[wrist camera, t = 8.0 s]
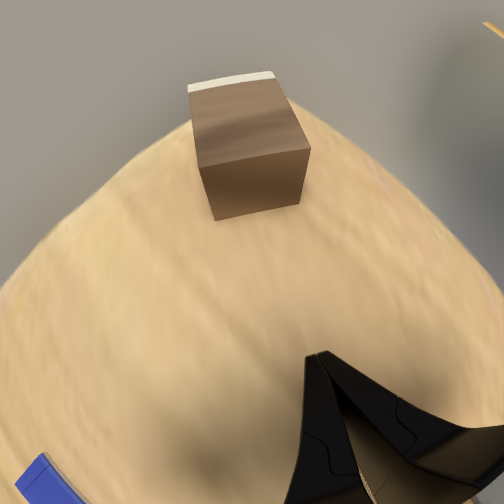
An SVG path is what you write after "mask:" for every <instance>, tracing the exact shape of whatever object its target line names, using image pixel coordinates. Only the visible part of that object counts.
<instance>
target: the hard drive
mask: <svg viewBox="0 0 504 504" xmlns="http://www.w3.org/2000/svg"><path fill="white" fill-rule="evenodd" d="M15 486H16V487H17V488H18V490H19V491H20V492H21V494H22V495H23V496H24V497H25V498H26V500H27V501H28V502H29V503H30V504H91V503H90V502H89V501H88V500H87V499H86V498H85V497H84V496H83V495H82V494H81V493H80V491H79V490H78V489H77V488H76V487H75V486H74V485H73V484H72V483H71V482H70V480H69V479H68V478H67V477H66V476H65V475H64V473H63V472H62V471H61V470H60V469H59V467H58V466H57V465H56V464H55V462H54V461H53V460H52V459H51V457H50V456H49V455H48V453H47V452H45V453H41V454H40V455H39V456H38V457H37V458H36V459H35V460H34V461H33V463H32V464H31V465H30V466H29V467H28V468H27V470H26V471H25V472H24V473H23V475H22V476H21V477H20V478H19V479H18V480H17V482H16V483H15Z"/></svg>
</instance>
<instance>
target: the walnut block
mask: <svg viewBox="0 0 504 504" xmlns="http://www.w3.org/2000/svg"><path fill="white" fill-rule="evenodd" d="M187 86H188V94H189V102H190V110H191V118H192V126H193V133H194V140H195V147H196V154H197V161H198V168H199V171H200V175H201V178H202V181H203V184H204V187H205V191H206V194H207V197H208V200H209V203H210V206H211V210H212V213H213V216H214V219H215V221H218V220H223V219H227V218H232V217H236V216H241V215H246V214H250V213H255V212H260V211H265V210H270V209H275V208H280V207H285V206H290V205H295V204H299V201H300V197H301V192H302V188H303V183H304V179H305V174H306V170H307V165H308V160H309V156H310V151H311V146H310V144H309V142H308V140H307V138H306V136H305V134H304V132H303V130H302V128H301V126H300V124H299V122H298V120H297V118H296V116H295V114H294V112H293V110H292V108H291V106H290V104H289V102H288V100H287V98H286V96H285V94H284V93H283V91H282V89H281V87H280V85H279V83H278V82H277V80H276V78H275V76H274V74H273V73H272V71H268V72H259V73H251V74H244V75H237V76H231V77H225V78H220V79H214V80H209V81H204V82H199V83H195V84H190V85H187Z"/></svg>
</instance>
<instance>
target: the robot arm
mask: <svg viewBox="0 0 504 504" xmlns="http://www.w3.org/2000/svg"><path fill="white" fill-rule="evenodd" d="M357 464H358V466H359V468H360V470H361V472H362V474H363V476H364V478H365V480H366V482H367V484H368V486H369V488H370V490H371V492H372V494H373V496H375V497H374V498H375V500H376V502H377V504H504V425H499V426H491V427H481V428H466V427H461V426H458V425H455V424H453V423H451V422H448V421H446V420H443V419H441V418H439V417H436V416H434V415H432V414H430V413H428V412H425V411H423V410H421V409H419V408H417V407H416V406H414V405H412V404H410V403H409V402H407V401H405V400H404V399H402V398H400V397H398V396H397V395H395V394H394V393H392V392H391V391H389V390H388V389H386V388H384V387H383V386H381V385H380V384H378V383H377V382H375V381H374V380H372V379H370V378H369V377H367V376H366V375H364V374H363V373H361V372H360V371H358V370H357V369H355V368H354V367H352V366H351V365H349V364H348V363H346V362H345V361H343V360H342V359H340V358H339V357H337V356H336V355H334V354H333V353H331V352H330V351H327V350H326V351H323V352H319V353H317V355H316V354H312V355H309V356H306V357H305V366H304V388H303V405H302V420H301V433H300V443H299V451H298V457H297V461H296V465H295V469H294V473H293V476H292V479H291V483H290V486H289V489H288V492H287V495H286V499H285V501H284V504H374V503H373V501H372V500H371V498H370V496H369V495H368V493H367V491H366V490H365V488H364V485H363V483H362V480H361V476H360V473H359V469H358V466H357Z"/></svg>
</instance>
